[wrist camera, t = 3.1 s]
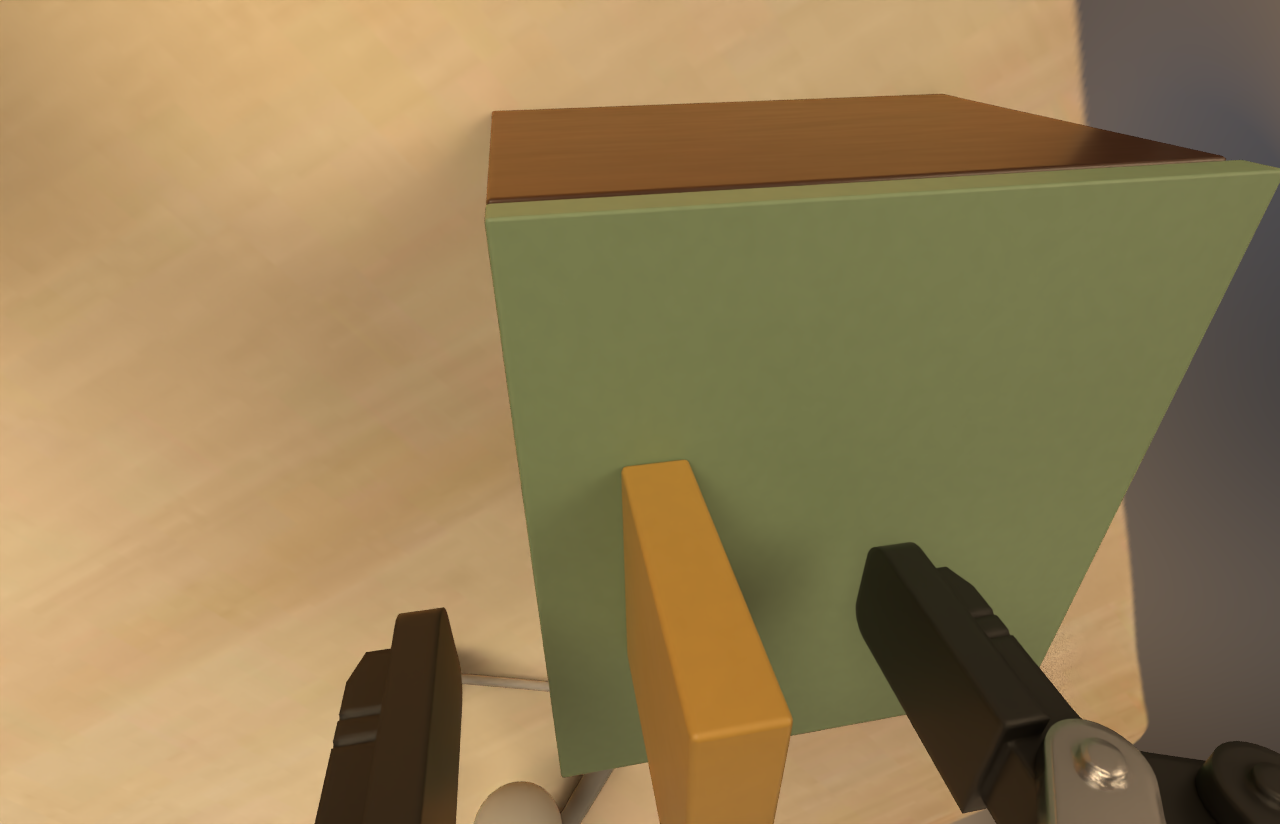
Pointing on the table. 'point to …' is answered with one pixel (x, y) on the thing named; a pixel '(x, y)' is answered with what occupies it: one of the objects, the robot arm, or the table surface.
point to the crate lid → (828, 431)
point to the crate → (789, 146)
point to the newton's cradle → (522, 811)
